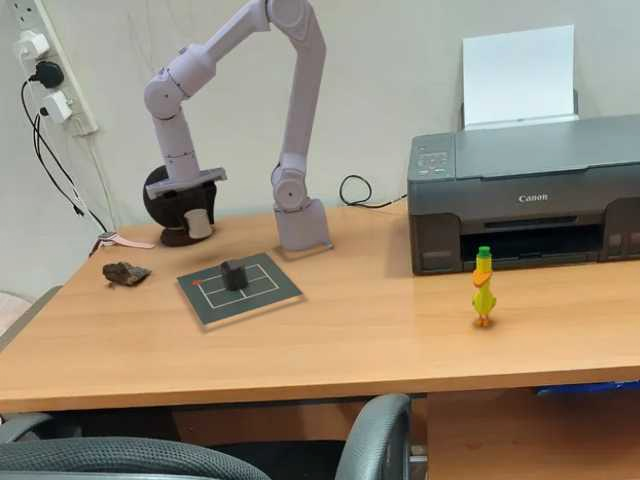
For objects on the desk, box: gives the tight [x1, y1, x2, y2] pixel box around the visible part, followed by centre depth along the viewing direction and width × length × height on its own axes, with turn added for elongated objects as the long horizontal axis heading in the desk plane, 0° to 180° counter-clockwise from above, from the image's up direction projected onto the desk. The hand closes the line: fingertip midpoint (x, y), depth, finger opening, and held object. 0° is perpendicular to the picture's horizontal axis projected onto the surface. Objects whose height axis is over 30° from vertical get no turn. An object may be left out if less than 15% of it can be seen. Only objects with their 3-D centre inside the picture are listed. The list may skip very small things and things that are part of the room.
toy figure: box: [471, 246, 497, 328], centre depth 98 cm, size 7×4×12 cm, turn 158°
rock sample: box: [101, 261, 153, 286], centre depth 128 cm, size 10×8×9 cm
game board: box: [176, 251, 304, 326], centre depth 120 cm, size 18×22×1 cm
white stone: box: [184, 209, 213, 238], centre depth 126 cm, size 4×4×4 cm
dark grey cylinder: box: [219, 258, 249, 291], centre depth 119 cm, size 4×4×4 cm
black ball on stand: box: [142, 164, 211, 248], centre depth 141 cm, size 13×13×15 cm
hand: (199, 226), depth 126 cm, fingers closed on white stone, 4 cm apart
